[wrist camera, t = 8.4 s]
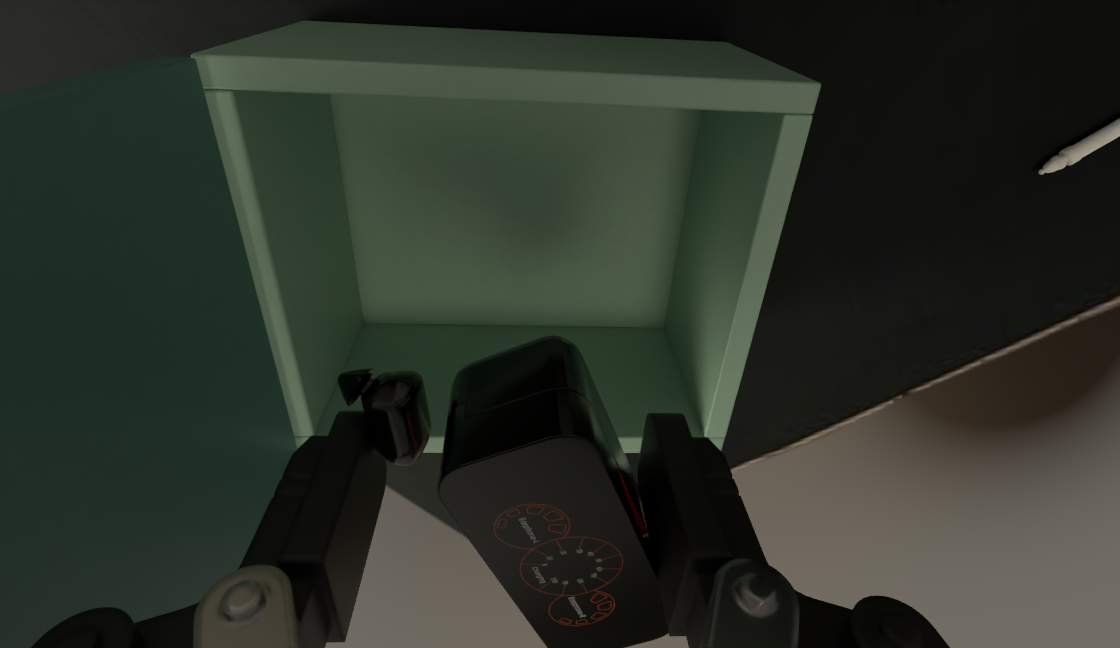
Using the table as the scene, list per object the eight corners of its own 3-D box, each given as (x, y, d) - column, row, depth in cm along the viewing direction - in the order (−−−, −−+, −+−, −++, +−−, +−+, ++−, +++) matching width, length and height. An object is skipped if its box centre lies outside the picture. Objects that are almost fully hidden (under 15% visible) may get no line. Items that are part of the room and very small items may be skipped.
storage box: (728, 41, 22) (822, 83, 15) (674, 332, 29) (721, 453, 22) (302, 20, 21) (188, 53, 14) (353, 327, 28) (294, 453, 21)
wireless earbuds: (555, 282, 11) (569, 387, 8) (651, 508, 15) (682, 632, 12) (341, 358, 12) (291, 479, 9) (485, 557, 16) (480, 686, 13)
